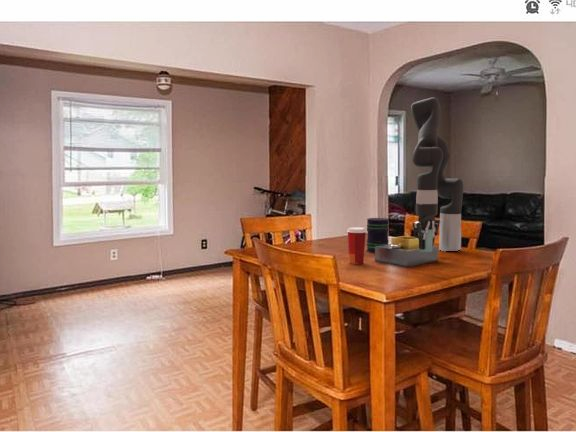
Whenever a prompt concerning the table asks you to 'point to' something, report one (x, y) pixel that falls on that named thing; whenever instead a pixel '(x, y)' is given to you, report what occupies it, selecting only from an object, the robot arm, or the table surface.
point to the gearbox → (404, 252)
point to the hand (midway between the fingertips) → (426, 248)
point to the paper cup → (356, 245)
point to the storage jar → (377, 233)
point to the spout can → (428, 241)
